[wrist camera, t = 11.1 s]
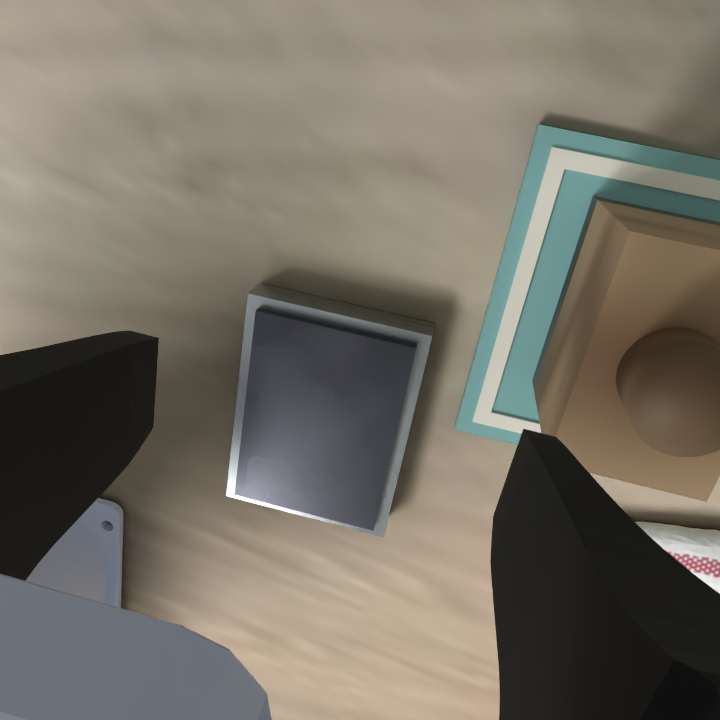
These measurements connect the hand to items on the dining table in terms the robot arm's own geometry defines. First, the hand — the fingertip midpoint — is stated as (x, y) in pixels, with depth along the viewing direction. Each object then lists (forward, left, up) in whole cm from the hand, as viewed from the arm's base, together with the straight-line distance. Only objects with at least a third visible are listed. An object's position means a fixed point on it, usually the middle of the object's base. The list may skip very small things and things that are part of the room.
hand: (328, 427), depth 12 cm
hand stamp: (+1, -7, -9) cm, 12 cm away
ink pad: (-5, +1, -9) cm, 11 cm away
